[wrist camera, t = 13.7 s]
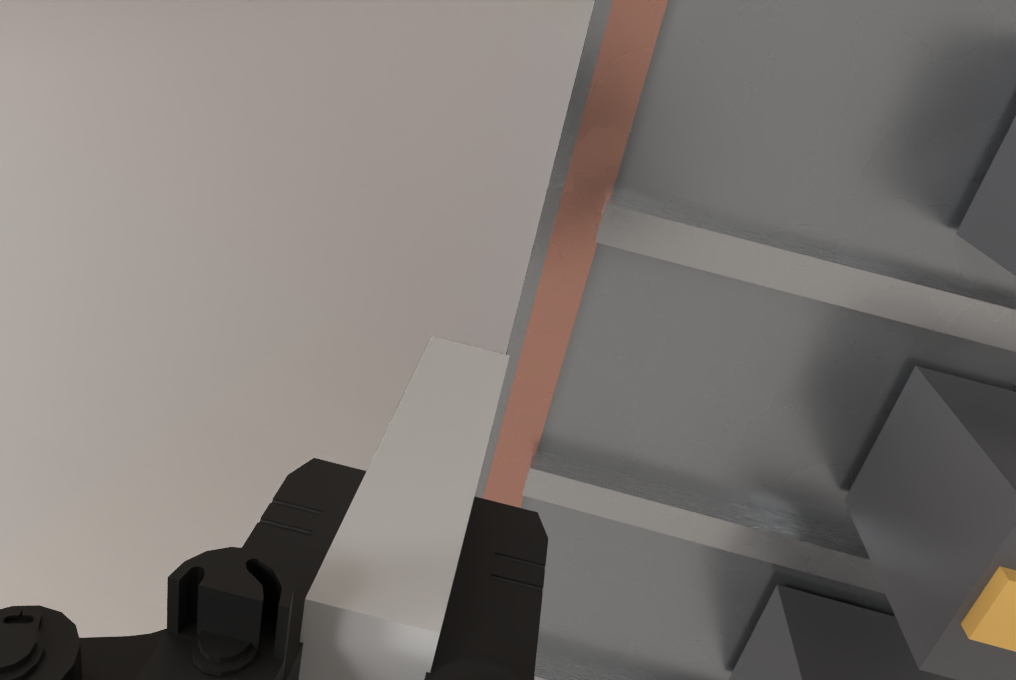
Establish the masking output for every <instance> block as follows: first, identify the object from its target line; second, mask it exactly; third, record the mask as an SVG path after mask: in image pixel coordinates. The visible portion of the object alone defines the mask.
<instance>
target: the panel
mask: <svg viewBox="0 0 1016 680" xmlns="http://www.w3.org/2000/svg"><path fill="white" fill-rule="evenodd" d="M1015 116H1016V0H595V3H594V7H593V11H592V15H591V19H590V23H589V27H588V31H587V35H586V39H585V43H584V47H583V51H582V55H581V59H580V63H579V67H578V71H577V75H576V79H575V82H574V86H573V90H572V94H571V98H570V102H569V106H568V110H567V114H566V118H565V122H564V126H563V130H562V134H561V138H560V142H559V146H558V150H557V154H556V158H555V162H554V166H553V170H552V174H551V178H550V182H549V186H548V190H547V194H546V198H545V202H544V205H543V209H542V213H541V217H540V221H539V225H538V229H537V233H536V237H535V241H534V245H533V249H532V253H531V257H530V261H529V265H528V269H527V273H526V277H525V281H524V285H523V289H522V293H521V297H520V301H519V305H518V309H517V313H516V317H515V321H514V324H513V328H512V332H511V336H510V340H509V344H508V348H507V352H506V355H510V357H509V361H508V365H507V369H506V373H505V377H504V381H503V385H502V389H501V393H500V397H499V401H498V405H497V409H496V413H495V417H494V421H493V425H492V429H491V433H490V437H489V441H488V445H487V449H486V453H485V457H484V461H483V465H482V469H481V473H480V477H479V481H478V485H477V489H476V493H475V497H479V498H483V499H487V500H491V501H495V502H499V503H503V504H507V505H511V506H515V507H519V508H523V509H527V510H531V511H535V512H538V515H539V517H540V519H541V522H542V524H543V527H544V529H545V531H546V534H547V536H548V547H547V557H546V565H545V576H544V586H543V591H542V592H543V596H542V605H541V615H540V625H539V635H538V644H537V654H536V664H535V674H534V680H729V678H730V676H731V674H732V672H733V670H734V668H735V666H736V664H737V662H738V660H739V658H740V656H741V654H742V652H743V650H744V648H745V646H746V644H747V642H748V640H749V638H750V637H751V635H752V633H753V631H754V629H755V627H756V625H757V623H758V621H759V619H760V617H761V615H762V613H763V611H764V609H765V607H766V605H767V603H768V601H769V599H770V597H771V595H772V593H773V591H774V589H775V587H776V585H780V586H784V587H788V588H791V589H795V590H799V591H802V592H806V593H810V594H813V595H817V596H821V597H824V598H828V599H832V600H835V601H839V602H843V603H846V604H850V605H854V606H857V607H861V608H865V609H869V610H872V611H876V612H880V613H883V614H887V615H891V616H894V617H895V614H894V612H893V610H892V607H891V605H890V603H889V601H888V598H887V596H886V594H885V592H884V589H883V587H882V585H881V583H880V580H879V578H878V576H877V574H876V571H875V569H874V567H873V565H872V562H871V560H870V558H869V556H868V553H867V551H866V549H865V547H864V544H863V542H862V540H861V537H860V535H859V533H858V531H857V528H856V526H855V524H854V522H853V519H852V517H851V515H850V513H849V510H848V508H847V506H846V504H845V501H844V500H845V498H846V496H847V495H848V493H849V491H850V489H851V487H852V485H853V483H854V481H855V479H856V477H857V476H858V474H859V472H860V470H861V468H862V466H863V464H864V462H865V460H866V458H867V457H868V455H869V453H870V451H871V449H872V447H873V445H874V443H875V441H876V440H877V438H878V436H879V434H880V432H881V430H882V428H883V426H884V424H885V422H886V421H887V419H888V417H889V415H890V413H891V411H892V409H893V407H894V405H895V404H896V402H897V400H898V398H899V396H900V394H901V392H902V390H903V388H904V386H905V385H906V383H907V381H908V379H909V377H910V375H911V373H912V371H913V369H914V367H915V366H919V367H923V368H927V369H930V370H934V371H938V372H942V373H946V374H949V375H953V376H957V377H961V378H965V379H969V380H972V381H976V382H980V383H984V384H988V385H991V386H995V387H999V388H1003V389H1007V390H1010V391H1014V392H1016V276H1015V275H1013V274H1012V273H1010V272H1009V271H1008V270H1006V269H1005V268H1003V267H1002V266H1001V265H999V264H998V263H996V262H995V261H993V260H992V259H991V258H989V257H988V256H986V255H985V254H984V253H982V252H981V251H979V250H978V249H976V248H975V247H974V246H972V245H971V244H969V243H968V242H967V241H965V240H964V239H962V238H961V237H960V236H958V235H957V234H956V232H957V230H958V228H959V226H960V224H961V222H962V220H963V218H964V216H965V215H966V213H967V211H968V209H969V207H970V205H971V203H972V201H973V199H974V197H975V195H976V193H977V191H978V189H979V187H980V185H981V183H982V181H983V179H984V177H985V175H986V173H987V171H988V169H989V167H990V165H991V163H992V162H993V160H994V158H995V156H996V154H997V152H998V150H999V148H1000V146H1001V144H1002V142H1003V140H1004V138H1005V136H1006V134H1007V132H1008V130H1009V128H1010V126H1011V124H1012V122H1013V120H1014V118H1015Z"/></svg>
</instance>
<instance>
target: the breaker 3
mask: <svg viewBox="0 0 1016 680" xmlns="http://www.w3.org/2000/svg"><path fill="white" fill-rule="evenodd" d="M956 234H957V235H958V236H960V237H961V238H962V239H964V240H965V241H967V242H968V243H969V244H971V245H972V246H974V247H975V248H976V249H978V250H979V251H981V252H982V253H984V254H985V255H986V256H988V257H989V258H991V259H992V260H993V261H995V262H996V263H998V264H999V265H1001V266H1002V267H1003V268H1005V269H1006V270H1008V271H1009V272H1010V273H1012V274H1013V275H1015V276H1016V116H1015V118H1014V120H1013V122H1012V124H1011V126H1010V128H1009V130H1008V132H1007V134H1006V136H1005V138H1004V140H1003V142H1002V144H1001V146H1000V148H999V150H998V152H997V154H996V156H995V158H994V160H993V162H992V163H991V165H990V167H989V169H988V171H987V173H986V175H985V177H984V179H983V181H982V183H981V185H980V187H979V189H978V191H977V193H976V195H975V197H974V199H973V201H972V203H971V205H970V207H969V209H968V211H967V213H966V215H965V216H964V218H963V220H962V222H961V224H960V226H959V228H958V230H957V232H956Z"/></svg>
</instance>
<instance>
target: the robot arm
mask: <svg viewBox="0 0 1016 680" xmlns="http://www.w3.org/2000/svg"><path fill="white" fill-rule="evenodd" d="M509 357H510V355H506V354H502V353H498V352H494V351H490V350H486V349H482V348H478V347H474V346H470V345H466V344H462V343H458V342H454V341H450V340H446V339H442V338H438V337H434V336H431V338H430V340H429V342H428V344H427V347H426V349H425V351H424V353H423V355H422V357H421V359H420V361H419V363H418V365H417V367H416V369H415V371H414V374H413V376H412V378H411V380H410V382H409V384H408V386H407V388H406V390H405V392H404V394H403V396H402V399H401V401H400V403H399V405H398V407H397V409H396V411H395V413H394V415H393V417H392V419H391V421H390V423H389V426H388V428H387V430H386V432H385V434H384V436H383V438H382V440H381V442H380V444H379V446H378V448H377V451H376V453H375V455H374V457H373V459H372V461H371V463H370V465H369V467H368V469H367V471H363V470H359V469H355V468H351V467H347V466H343V465H340V464H336V463H332V462H328V461H324V460H320V459H316V458H313V459H312V460H310V461H309V462H307V463H306V464H304V465H302V466H301V467H299V468H298V469H296V470H295V471H293V472H292V473H290V474H289V475H288V476H287V477H286V479H285V481H284V482H283V484H282V485H281V487H280V488H279V490H278V492H277V493H276V495H275V496H274V498H273V501H272V503H270V504H269V506H268V507H267V509H266V511H265V512H264V514H263V515H262V517H261V520H260V522H259V523H257V525H256V526H255V528H254V529H253V531H252V533H251V534H250V536H249V537H248V539H247V541H246V542H245V544H244V545H243V547H242V548H235V547H229V548H223V549H217V550H211V551H206V552H204V553H202V554H200V555H198V556H195V557H193V558H191V559H189V560H187V561H185V562H184V563H182V564H181V565H180V566H179V567H178V568H177V569H176V570H175V571H174V572H173V573H172V574H171V575H170V576H169V577H168V599H167V629H164V630H161V631H158V632H154V633H151V634H144V635H136V636H123V637H94V638H79V636H78V632H77V628H76V625H75V624H74V623H73V622H72V621H71V620H69V619H68V618H67V617H66V616H65V615H64V614H63V613H62V612H59V611H56V610H52V609H49V608H46V607H42V606H11V607H7V608H4V609H0V680H534V674H535V664H536V654H537V644H538V635H539V625H540V615H541V605H542V596H543V592H542V591H543V586H544V576H545V565H546V557H547V547H548V536H547V534H546V531H545V529H544V527H543V524H542V522H541V519H540V517H539V515H538V512H535V511H531V510H527V509H523V508H519V507H515V506H511V505H507V504H503V503H499V502H495V501H491V500H487V499H483V498H479V497H475V493H476V489H477V485H478V481H479V477H480V473H481V469H482V465H483V461H484V457H485V453H486V449H487V445H488V441H489V437H490V433H491V429H492V425H493V421H494V417H495V413H496V409H497V405H498V401H499V397H500V393H501V389H502V385H503V381H504V377H505V373H506V369H507V365H508V361H509Z"/></svg>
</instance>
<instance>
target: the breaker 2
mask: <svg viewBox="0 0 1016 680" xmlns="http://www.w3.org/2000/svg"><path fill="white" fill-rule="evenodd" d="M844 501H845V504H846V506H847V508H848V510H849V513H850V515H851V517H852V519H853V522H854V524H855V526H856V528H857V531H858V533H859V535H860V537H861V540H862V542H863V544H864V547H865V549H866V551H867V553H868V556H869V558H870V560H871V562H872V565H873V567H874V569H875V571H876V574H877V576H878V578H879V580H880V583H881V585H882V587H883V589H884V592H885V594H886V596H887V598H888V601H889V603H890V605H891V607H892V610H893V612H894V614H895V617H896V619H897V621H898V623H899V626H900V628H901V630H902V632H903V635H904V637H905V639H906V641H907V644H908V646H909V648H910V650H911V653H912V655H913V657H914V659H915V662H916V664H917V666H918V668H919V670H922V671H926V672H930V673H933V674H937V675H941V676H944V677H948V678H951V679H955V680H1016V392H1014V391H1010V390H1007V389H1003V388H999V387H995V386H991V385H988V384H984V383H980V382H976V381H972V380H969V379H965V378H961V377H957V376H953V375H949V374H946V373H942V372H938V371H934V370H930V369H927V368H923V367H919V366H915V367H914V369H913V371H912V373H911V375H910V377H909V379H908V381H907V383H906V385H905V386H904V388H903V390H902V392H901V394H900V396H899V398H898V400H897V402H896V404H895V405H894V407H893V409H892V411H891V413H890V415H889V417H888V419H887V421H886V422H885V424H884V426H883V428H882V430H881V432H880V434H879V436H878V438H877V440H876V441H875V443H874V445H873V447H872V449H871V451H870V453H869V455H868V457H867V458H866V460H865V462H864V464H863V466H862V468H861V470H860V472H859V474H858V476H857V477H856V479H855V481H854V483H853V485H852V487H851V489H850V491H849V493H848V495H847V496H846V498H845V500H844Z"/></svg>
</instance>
